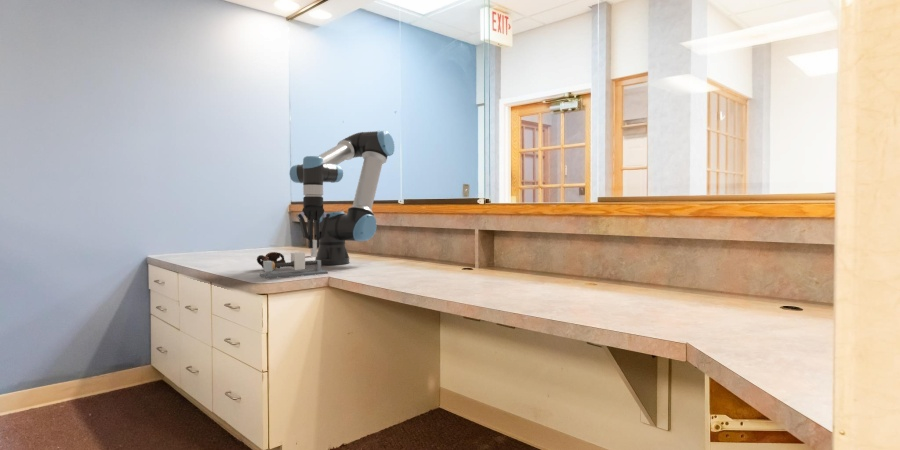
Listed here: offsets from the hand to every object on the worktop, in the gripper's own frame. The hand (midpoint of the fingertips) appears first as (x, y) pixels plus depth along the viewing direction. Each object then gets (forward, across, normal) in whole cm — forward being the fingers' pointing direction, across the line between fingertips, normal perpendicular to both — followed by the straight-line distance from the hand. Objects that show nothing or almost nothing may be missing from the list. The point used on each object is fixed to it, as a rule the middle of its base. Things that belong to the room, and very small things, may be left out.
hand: (313, 256), depth 200 cm
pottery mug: (+7, +11, -21) cm, 24 cm away
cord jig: (+7, +8, 0) cm, 10 cm away
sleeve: (+5, +6, 0) cm, 8 cm away
